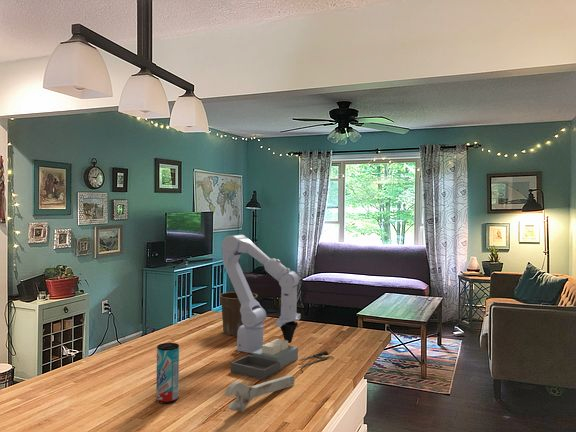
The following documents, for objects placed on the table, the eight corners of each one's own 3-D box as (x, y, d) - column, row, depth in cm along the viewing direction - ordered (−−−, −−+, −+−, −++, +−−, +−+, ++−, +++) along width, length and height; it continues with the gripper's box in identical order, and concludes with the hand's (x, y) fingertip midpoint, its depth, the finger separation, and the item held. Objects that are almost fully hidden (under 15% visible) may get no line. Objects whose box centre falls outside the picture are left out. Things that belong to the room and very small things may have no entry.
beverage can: (154, 397, 130) (155, 344, 130) (176, 394, 133) (176, 341, 133) (157, 405, 125) (158, 350, 125) (180, 402, 127) (181, 347, 127)
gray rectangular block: (252, 364, 160) (252, 352, 159) (274, 353, 172) (274, 342, 171) (276, 369, 154) (277, 357, 154) (297, 358, 166) (297, 347, 166)
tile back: (270, 348, 164) (270, 341, 164) (277, 345, 168) (277, 338, 168) (281, 350, 162) (281, 343, 162) (288, 347, 166) (288, 340, 166)
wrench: (293, 394, 142) (228, 418, 117) (288, 392, 143) (222, 416, 119) (296, 367, 143) (231, 385, 118) (291, 366, 144) (225, 383, 119)
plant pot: (249, 326, 211) (250, 290, 210) (262, 335, 196) (263, 297, 195) (214, 329, 204) (214, 292, 204) (224, 339, 189) (225, 299, 189)
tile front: (261, 352, 160) (261, 345, 160) (269, 349, 163) (269, 342, 163) (272, 354, 157) (273, 347, 157) (279, 351, 161) (280, 344, 161)
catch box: (230, 371, 152) (230, 362, 152) (247, 363, 160) (247, 355, 160) (263, 380, 145) (264, 370, 145) (280, 371, 153) (280, 362, 153)
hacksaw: (325, 353, 174) (325, 349, 174) (346, 360, 167) (346, 356, 167) (276, 367, 158) (276, 363, 158) (297, 376, 150) (297, 371, 150)
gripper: (288, 310, 162) (287, 349, 162) (307, 303, 174) (307, 339, 174) (270, 307, 165) (270, 345, 166) (291, 300, 178) (290, 336, 178)
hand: (288, 342), depth 170 cm, fingers closed
